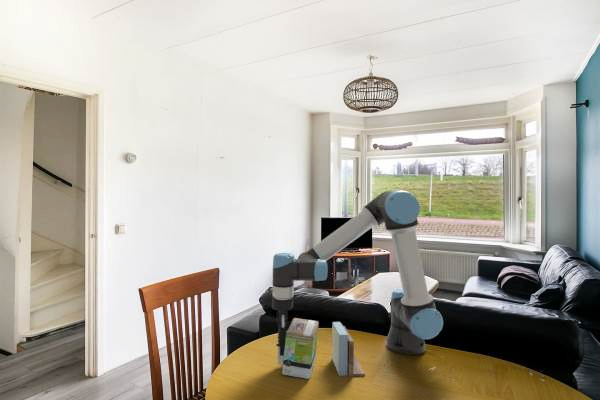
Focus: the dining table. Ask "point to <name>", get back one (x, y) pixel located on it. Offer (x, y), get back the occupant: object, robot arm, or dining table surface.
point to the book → (339, 348)
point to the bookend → (353, 359)
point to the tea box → (300, 348)
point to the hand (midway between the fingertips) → (281, 362)
